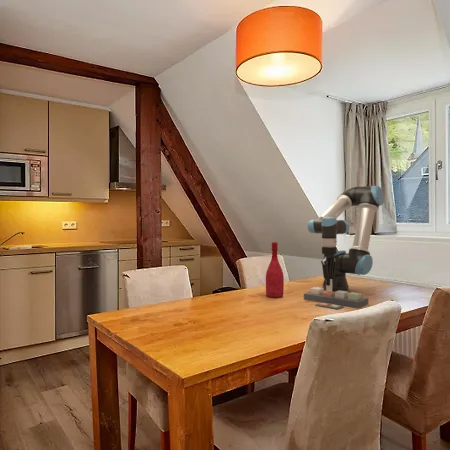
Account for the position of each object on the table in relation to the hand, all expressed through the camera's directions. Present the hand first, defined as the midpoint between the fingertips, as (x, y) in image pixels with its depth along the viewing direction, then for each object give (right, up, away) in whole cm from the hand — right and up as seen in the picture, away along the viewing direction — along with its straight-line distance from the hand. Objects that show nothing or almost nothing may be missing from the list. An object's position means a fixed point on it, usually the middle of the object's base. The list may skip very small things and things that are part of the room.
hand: (329, 291), depth 206 cm
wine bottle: (-27, -5, +11) cm, 30 cm away
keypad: (+2, -5, -2) cm, 6 cm away
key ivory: (-5, -2, +5) cm, 7 cm away
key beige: (+5, -3, -5) cm, 7 cm away
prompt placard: (-3, -5, -13) cm, 15 cm away
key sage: (+10, -3, -9) cm, 14 cm away
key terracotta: (0, -4, 0) cm, 4 cm away
